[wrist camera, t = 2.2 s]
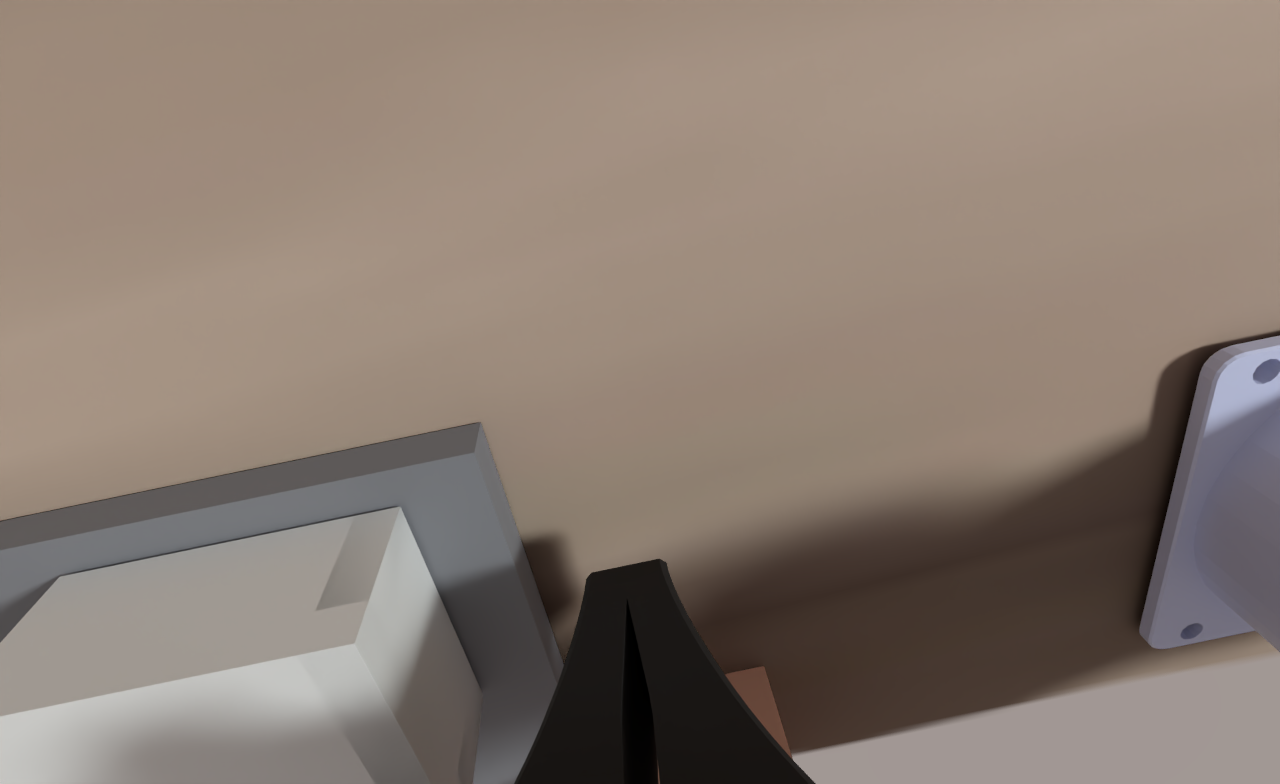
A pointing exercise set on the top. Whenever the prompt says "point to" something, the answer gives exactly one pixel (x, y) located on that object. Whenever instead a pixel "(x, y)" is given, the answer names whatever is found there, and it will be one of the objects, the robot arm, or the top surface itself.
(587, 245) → the top surface
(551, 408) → the top surface
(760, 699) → the block
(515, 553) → the deck
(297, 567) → the cover
